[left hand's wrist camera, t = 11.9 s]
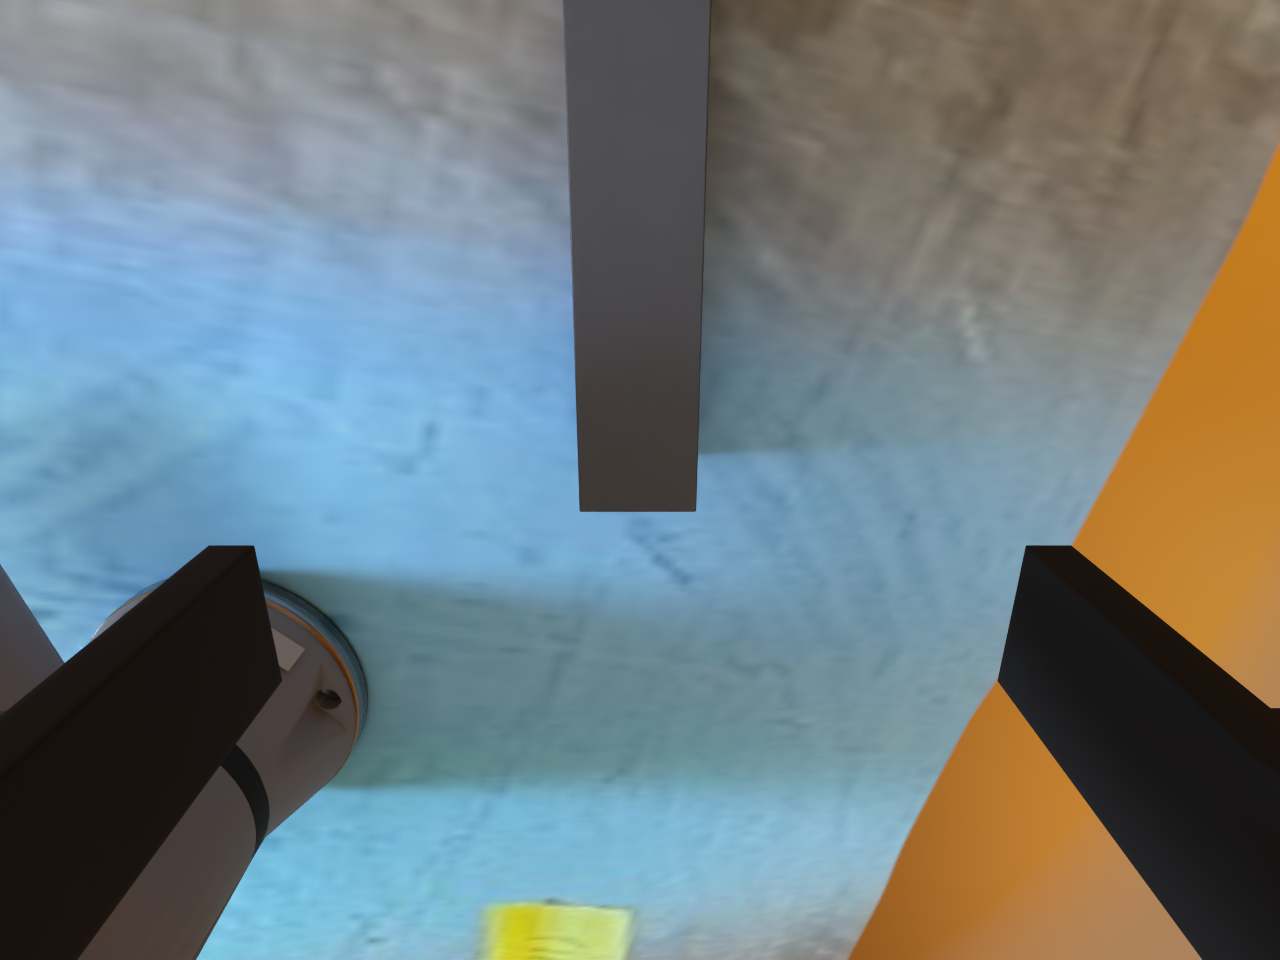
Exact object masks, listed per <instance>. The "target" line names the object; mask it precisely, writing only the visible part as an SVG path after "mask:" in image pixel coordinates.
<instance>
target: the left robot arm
mask: <svg viewBox="0 0 1280 960" xmlns="http://www.w3.org/2000/svg"><path fill="white" fill-rule="evenodd" d="M998 682H999V683H1000V685H1001V686H1002V687H1003V689H1004V690H1005V692H1006V693H1007V694H1008V696H1009V697H1010V698H1011V700H1012V701H1013V702H1014V704H1015V705H1016V707H1017V708H1018V709H1019V711H1020V712H1021V713H1022V715H1023V716H1024V717H1025V719H1026V720H1027V722H1028V723H1029V724H1030V726H1031V727H1032V728H1033V730H1034V731H1035V732H1036V734H1037V735H1038V736H1039V738H1040V739H1041V741H1042V742H1043V743H1044V745H1045V746H1046V747H1047V749H1048V750H1049V751H1050V753H1051V754H1052V756H1053V757H1054V758H1055V760H1056V761H1057V762H1058V764H1059V765H1060V766H1061V768H1062V769H1063V771H1064V772H1065V773H1066V775H1067V776H1068V777H1069V779H1070V780H1071V781H1072V783H1073V784H1074V785H1075V787H1076V788H1077V790H1078V791H1079V792H1080V794H1081V795H1082V796H1083V798H1084V799H1085V800H1086V802H1087V803H1088V805H1089V806H1090V807H1091V809H1092V810H1093V811H1094V813H1095V814H1096V815H1097V817H1098V818H1099V819H1100V821H1101V822H1102V824H1103V825H1104V826H1105V828H1106V829H1107V830H1108V832H1109V833H1110V834H1111V836H1112V837H1113V839H1114V840H1115V841H1116V843H1117V844H1118V845H1119V847H1120V848H1121V849H1122V851H1123V852H1124V854H1125V855H1126V856H1127V858H1128V859H1129V860H1130V862H1131V863H1132V864H1133V866H1134V867H1135V869H1136V870H1137V871H1138V873H1139V874H1140V875H1141V877H1142V878H1143V879H1144V881H1145V882H1146V884H1147V885H1148V886H1149V888H1150V889H1151V890H1152V892H1153V893H1154V894H1155V896H1156V897H1157V899H1158V900H1159V901H1160V902H1161V904H1162V905H1163V907H1164V908H1165V909H1166V911H1167V912H1168V913H1169V915H1170V916H1171V917H1172V919H1173V920H1174V922H1175V923H1176V924H1177V926H1178V927H1179V928H1180V930H1181V931H1182V933H1183V934H1184V935H1185V937H1186V938H1187V939H1188V941H1189V942H1190V943H1191V945H1192V946H1193V947H1194V949H1195V950H1196V952H1197V953H1198V954H1199V956H1200V957H1201V958H1202V960H1280V708H1270V707H1268V706H1267V705H1266V704H1265V703H1263V702H1262V701H1261V700H1260V699H1258V698H1257V697H1256V696H1255V695H1254V694H1252V693H1251V692H1250V691H1249V690H1247V689H1246V688H1245V687H1244V686H1243V685H1241V684H1240V683H1239V682H1238V681H1236V680H1235V679H1234V678H1233V677H1232V676H1230V675H1229V674H1228V673H1227V672H1225V671H1224V670H1223V669H1222V668H1221V667H1219V666H1218V665H1217V664H1216V663H1214V662H1213V661H1212V660H1211V659H1209V658H1208V657H1207V656H1206V655H1205V654H1203V653H1202V652H1201V651H1200V650H1198V649H1197V648H1196V647H1195V646H1194V645H1192V644H1191V643H1190V642H1189V641H1187V640H1186V639H1185V638H1184V637H1183V636H1181V635H1180V634H1179V633H1178V632H1176V631H1175V630H1174V629H1173V628H1171V627H1170V626H1169V625H1168V624H1167V623H1165V622H1164V621H1163V620H1162V619H1160V618H1159V617H1158V616H1157V615H1156V614H1154V613H1153V612H1152V611H1151V610H1149V609H1148V608H1147V607H1146V606H1145V605H1143V604H1142V603H1141V602H1140V601H1138V600H1137V599H1136V598H1135V597H1133V596H1132V595H1131V594H1130V593H1129V592H1127V591H1126V590H1125V589H1124V588H1122V587H1121V586H1120V585H1119V584H1118V583H1116V582H1115V581H1114V580H1113V579H1111V578H1110V577H1109V576H1108V575H1107V574H1105V573H1104V572H1103V571H1102V570H1100V569H1099V568H1098V567H1097V566H1096V565H1094V564H1093V563H1092V562H1091V561H1089V560H1088V559H1087V558H1086V557H1084V556H1083V555H1082V554H1081V553H1080V552H1078V551H1077V550H1076V549H1075V548H1073V547H1072V546H1026V548H1025V553H1024V558H1023V562H1022V567H1021V572H1020V577H1019V581H1018V586H1017V591H1016V596H1015V601H1014V605H1013V610H1012V615H1011V620H1010V624H1009V629H1008V634H1007V639H1006V643H1005V648H1004V653H1003V658H1002V662H1001V667H1000V672H999V677H998ZM366 711H367V691H366V685H365V680H364V677H363V673H362V670H361V667H360V665H359V663H358V660H357V658H356V656H355V654H354V653H353V651H352V649H351V647H350V646H349V644H348V643H347V641H346V640H345V638H344V637H343V636H342V635H341V634H340V632H339V631H338V630H337V629H336V628H335V627H334V626H333V625H332V623H331V622H330V621H329V620H328V619H326V618H325V617H324V616H323V615H322V614H321V613H320V612H318V611H317V610H316V609H315V608H313V607H312V606H310V605H309V604H308V603H306V602H305V601H303V600H301V599H300V598H298V597H297V596H295V595H293V594H291V593H289V592H287V591H285V590H283V589H281V588H279V587H276V586H274V585H272V584H269V583H266V582H263V581H261V577H260V572H259V567H258V562H257V558H256V553H255V548H254V546H208V547H207V548H205V549H204V550H203V551H202V552H200V553H199V554H198V555H197V556H196V557H194V558H193V559H192V560H191V561H189V562H188V563H187V564H186V565H184V566H183V567H182V568H181V569H180V570H178V571H177V572H176V573H175V574H173V575H172V576H171V577H170V578H169V579H165V580H162V581H160V582H158V583H155V584H153V585H151V586H149V587H147V588H146V589H144V590H142V591H141V592H139V593H138V594H136V595H135V596H134V597H132V598H131V599H130V600H129V601H127V602H126V603H125V604H124V605H122V606H121V607H120V608H118V609H117V610H116V611H115V612H113V613H112V614H111V615H110V616H109V617H108V618H107V619H106V620H105V621H104V622H103V623H102V624H101V626H100V627H99V628H98V629H97V631H96V633H95V634H94V636H93V637H92V639H91V641H90V643H89V644H88V645H86V646H85V647H84V648H83V649H82V650H80V651H79V652H78V653H77V654H75V655H74V656H73V657H72V658H71V659H69V660H68V661H67V662H66V663H64V662H63V660H62V659H61V657H60V655H59V654H58V652H57V651H56V649H55V648H54V646H53V645H52V643H51V642H50V640H49V639H48V637H47V635H46V634H45V632H44V631H43V629H42V628H41V626H40V625H39V623H38V622H37V620H36V619H35V617H34V615H33V614H32V612H31V611H30V609H29V608H28V606H27V605H26V603H25V602H24V600H23V598H22V597H21V595H20V594H19V592H18V591H17V589H16V588H15V586H14V585H13V583H12V582H11V580H10V578H9V577H8V575H7V574H6V572H5V571H4V569H3V568H2V566H1V565H0V960H196V959H197V957H198V955H199V953H200V952H201V950H202V948H203V946H204V944H205V943H206V941H207V939H208V937H209V936H210V934H211V932H212V930H213V928H214V927H215V925H216V923H217V921H218V919H219V918H220V916H221V914H222V912H223V911H224V909H225V907H226V905H227V903H228V902H229V900H230V898H231V896H232V894H233V893H234V891H235V889H236V887H237V886H238V884H239V882H240V880H241V878H242V877H243V875H244V873H245V871H246V869H247V868H248V866H249V864H250V862H251V860H252V858H253V857H254V855H255V853H256V852H257V850H258V848H259V847H260V845H261V843H262V842H263V840H264V838H265V837H266V836H267V835H269V834H270V833H271V832H272V831H273V830H274V829H275V828H277V827H278V826H279V825H280V824H281V823H282V822H283V821H285V820H286V819H287V818H288V817H289V816H290V815H292V814H293V813H294V812H295V811H296V810H297V809H298V808H300V807H301V806H302V805H303V804H304V803H305V802H306V801H308V800H309V799H310V798H311V797H312V796H313V795H314V794H316V793H317V792H318V791H319V790H320V789H321V788H322V787H324V786H325V785H326V784H327V783H328V782H329V781H330V780H331V779H332V778H333V777H334V776H335V775H336V774H337V773H338V772H339V770H340V769H341V768H342V767H343V765H344V763H345V762H346V760H347V759H348V757H349V755H350V753H351V751H352V749H353V747H354V745H355V743H356V741H357V739H358V737H359V735H360V733H361V731H362V728H363V725H364V722H365V717H366Z"/></svg>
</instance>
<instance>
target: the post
mask: <svg viewBox="0 0 1280 960" xmlns="http://www.w3.org/2000/svg"><path fill="white" fill-rule="evenodd" d="M563 12H564V43H565V74H566V104H567V135H568V166H569V196H570V227H571V258H572V289H573V319H574V350H575V381H576V411H577V442H578V473H579V504H580V511H581V512H695V511H696V495H697V461H698V428H699V394H700V361H701V327H702V293H703V260H704V226H705V193H706V159H707V125H708V92H709V58H710V24H711V0H563Z"/></svg>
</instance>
